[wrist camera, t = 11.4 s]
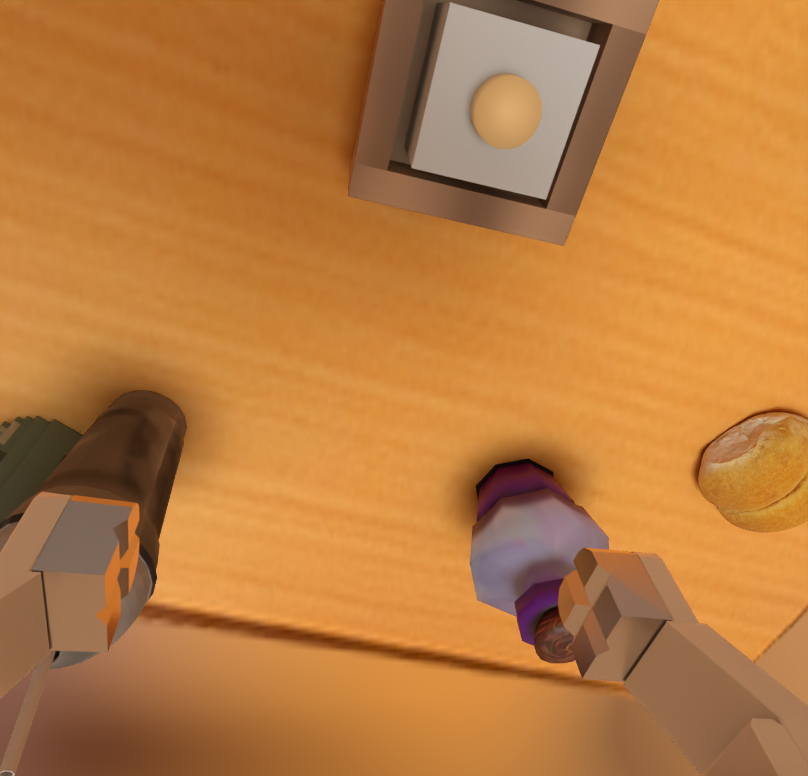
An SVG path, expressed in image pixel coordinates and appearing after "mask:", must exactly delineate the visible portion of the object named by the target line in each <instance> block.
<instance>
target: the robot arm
mask: <svg viewBox="0 0 808 776" xmlns="http://www.w3.org/2000/svg"><path fill="white" fill-rule="evenodd" d="M138 522H139V505H138V504H137V503H134V502H126V501H118V500H110V499H102V498H94V497H86V496H78V495H74V496H72V495H64V494H56V493H48V492H41V493H40V494H38V495H37V496H36V497H35V498H33V500H32V502H31V503H30V505H29V507H28V508H27V510H26V511H25V513H24V515H23V516H22V518H21V520H20V521H19V523H18V524H17V526H16V528H15V529H14V531H13V532H12V534H11V536H10V537H9V539H8V541H7V542H6V544H5V545H4V547H3V549H2V550H1V552H0V699H1V698H2V697H3V696H4V695H5V694H6V693H7V692H8V691H9V690H11V689H12V688H13V687H14V686H15V685H16V684H17V683H18V682H19V681H21V680H22V679H23V678H24V677H25V676H26V675H27V674H28V673H29V672H30V671H32V670H33V669H34V668H35V667H36V666H37V665H38V664H39V663H40V662H42V661H43V660H44V659H45V658H46V657H47V656H48V655H49V654H50V651H83V652H108V650H109V647H110V645H111V642H112V639H113V636H114V634H115V631H116V628H117V625H118V623H119V620H120V617H121V599H123V598H124V597H125V596H127V595H128V594H129V592H130V589H131V586H132V583H133V580H134V576H135V571H136V567H137V563H138V555H139V537H138V536H137V535H136V534H135V530H136V527H137V525H138ZM573 562H574V564H575V567H576V570H575V571H573V572H571V573H570V574H568V575H567V576H565V578H564V580H563V582H562V584H561V586H560V588H559V596H558V608H559V614H560V617H561V620H562V623H563V626H564V627H565V628H566V629H567V630H568V631H569V632H570V633H571V634H572V635H573V636H574V639H573V642H572V644H571V649H572V652H573V654H574V657H575V660H576V663H577V665H578V668H579V671H580V674H581V676H582V679H592V680H603V681H615V682H625V683H624V684H623V685H624V686H625V687H626V688H627V689H628V691H629V692H630V693H631V694H632V695H633V696H634V698H635V699H636V700H637V701H638V702H639V703H640V705H641V706H642V707H643V708H644V709H645V710H646V712H647V713H648V714H649V715H650V716H651V717H652V718H653V720H655V722H656V723H657V724H658V725H659V727H660V728H661V729H662V730H663V731H664V732H665V734H666V735H667V736H668V737H669V738H670V739H671V741H672V742H673V743H674V744H675V745H676V746H677V748H678V749H679V750H680V751H681V752H682V753H683V755H684V756H685V757H686V758H687V759H688V760H689V762H690V763H691V764H692V765H693V766H694V767H695V769H696V770H697V771H698V772H699V773H700V774H701V775H700V776H808V706H807V705H806V704H805V703H804V702H802V701H801V700H800V699H799V698H797V697H796V696H795V695H794V694H792V693H791V692H790V691H789V690H787V689H786V688H785V687H784V686H783V685H781V684H780V683H779V682H778V681H776V680H775V679H774V678H773V677H771V676H770V675H769V674H768V673H766V672H765V671H764V670H763V669H761V668H760V667H759V666H758V665H756V664H755V663H754V662H753V661H751V660H750V659H749V658H748V657H747V656H745V655H744V654H743V653H742V652H740V651H739V650H738V649H737V648H735V647H734V646H733V645H732V644H730V643H729V642H728V641H727V640H725V639H724V638H723V637H722V636H720V635H719V634H718V633H717V632H715V631H714V630H713V629H712V628H711V627H709V626H708V625H707V624H701V623H699V622H698V621H697V619H696V617H695V615H694V614H693V612H692V610H691V608H690V607H689V605H688V603H687V601H686V600H685V598H684V596H683V595H682V593H681V591H680V589H679V588H678V586H677V584H676V582H675V581H674V579H673V577H672V576H671V574H670V572H669V570H668V569H667V567H666V565H665V563H664V562H663V560H662V559H661V558H660V557H659V556H658V555H656V554H652V553H641V552H628V551H618V550H607V549H596V548H585V547H584V548H583V549H581V550H580V551H579V552H578V553H577V555H576V557H575V559H574V560H573Z"/></svg>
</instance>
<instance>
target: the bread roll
mask: <svg viewBox="0 0 808 776" xmlns="http://www.w3.org/2000/svg"><path fill="white" fill-rule="evenodd" d="M698 483H699V487H700V490H701V493H702V495H703V496H704V498H705V499H706V500H708V501H709V502H710V503H712V504H714V505H716V506H717V507H718V509H719V511H720V513H721V514H722V516H723V517H724V518H725V519H726V520H727V521H729V522H730V523H731V524H733V525H735V526H737V527H739V528H742V529H746V530H749V531H755V532H767V533H769V532H777V531H783V530H787V529H790V528H793V527H796V526H798V525H800V524H803V523H804V522H806V521H808V419H805V418H803V417H801V416H798V415H795V414H790V413H785V412H771V413H766V414H761V415H756V416H754V417H752V418H750V419H747V420H746V421H744V422H742V423H741V424H739V425H737V426H735V427H733V428H731V429H729V430H728V431H727V432H725V433H724V434H722V435H721V436H720V437H718V438H717V439H716V440H715V441H714V442H712V443H711V444H710V445H709V446H708V447H707V449H706V451H705V452H704V454H703V457H702V462H701V467H700V471H699V478H698Z"/></svg>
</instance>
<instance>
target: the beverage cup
mask: <svg viewBox="0 0 808 776" xmlns="http://www.w3.org/2000/svg"><path fill="white" fill-rule="evenodd" d="M186 427H187V426H186V421H185V417H184V415H183V413H182V411H181V410H180V408H179V407H178V406H177V405H176V404H175V403H174V402H172V401H171V400H170V399H168V398H166V397H164V396H163V395H161V394H158V393H154V392H150V391H133V392H129V393H125V394H123V395H122V396H120V397H119V398H117V399H116V400H115V401H114V403H113V404H112V405H111V406H110V407H109V408H108V409H107V410H106V411H104V412H103V413H102V414H101V415H100V417H99V418H98V419H97V420H96V421H95V422H94V424H93V425H92V426H91V427H90V428H89V430H88V431H87V432H86V433H85V434H84V436H83V437H82V438H81V439H80V440H79V441H78V443H77V444H76V445H75V446H74V447H73V449H72V450H71V451H70V452H69V453H68V454H67V456H66V457H65V458H64V459H63V460H62V462H61V463H60V464H59V465H58V466H57V467H56V469H55V470H54V471H53V472H52V473H51V475H50V476H49V477H48V478H47V479H46V481H45V482H44V483H43V484H42V485H41V486H40V488H39V489H38V490H37V491H36V492H35V494H34V495H33V496H32V497H30V498H29V499H27V500H26V501H24V502H23V503H22V504H21V505H20V506H19V507H18V508H17V509H15V510H14V511H13V512H12V513H11V514H10V515H9V516H8V517H7V518H6V519H5V520H4V521H3V522H1V523H0V552H1V550H2V549H3V547H4V545H5V544H6V542H7V541H8V539H9V537H10V536H11V534H12V532H13V531H14V529H15V528H16V526H17V524H18V523H19V521H20V520H21V518H22V516H23V515H24V513H25V511H26V510H27V508H28V507H29V505H30V503H31V502H32V500H33V498H35V497H36V496H37V495H38V494H40V493H41V492H48V493H56V494H64V495H72V496H74V495H78V496H86V497H94V498H102V499H110V500H118V501H126V502H134V503H137V504H138V505H139V522H138V525H137V527H136V530H135V534H136V535H137V536H138V537H139V555H138V563H137V567H136V571H135V576H134V580H133V583H132V586H131V589H130V592H129V594H128V595H127V596H125V597H124V598H123V599H121V617H120V620H119V623H118V625H117V628H116V631H115V634H114V636H113V639H112V642H111V645H113V644H114V643H115V642H116V641H117V640H118V639H119V638H120V637H121V636H122V635H123V634H124V633H125V632H126V631H127V629H128V628H129V627H130V626H131V625H132V624H133V622H134V621H135V620H136V618H137V617H138V616H139V614H140V613H141V611H142V610H143V607H144V605H145V603H146V602H147V601H148V600H149V599H150V597H151V596H152V594H153V592H154V588H155V584H156V580H157V575H156V567H157V563H158V554H159V537H160V533H161V529H162V525H163V521H164V517H165V514H166V510H167V506H168V502H169V498H170V494H171V491H172V487H173V483H174V479H175V475H176V471H177V468H178V464H179V460H180V456H181V452H182V448H183V444H184V442H183V439H184V436H185V432H186ZM111 645H110V646H111ZM98 653H100V652H83V651H50V654H49V655H48V656H47V657H46V658H45V659H44V660H43V661H42V662H40V663H39V664H38V665H37V666H36V667H35V670H34V673H33V676H32V678H31V681H30V684H29V687H28V690H27V693H26V696H25V699H24V701H23V704H22V707H21V710H20V713H19V716H18V718H17V721H16V725H15V727H14V730H13V733H12V736H11V739H10V742H9V744H8V747H7V750H6V753H5V756H4V759H3V762H2V764H1V767H0V776H14V775H15V772H16V769H17V766H18V763H19V760H20V757H21V754H22V751H23V748H24V745H25V742H26V739H27V736H28V733H29V730H30V727H31V724H32V721H33V718H34V715H35V712H36V709H37V706H38V703H39V700H40V697H41V694H42V691H43V688H44V685H45V682H46V679H47V676H48V673H49V670H50V669H52V668H53V669H54V668H62V667H66V666H70V665H74V664H77V663H81V662H83V661H85V660H87V659H89V658H91V657H93V656H95V655H96V654H98Z"/></svg>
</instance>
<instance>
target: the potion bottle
mask: <svg viewBox="0 0 808 776" xmlns="http://www.w3.org/2000/svg"><path fill="white" fill-rule="evenodd" d="M476 490H477V496H478V513H477V523H476V524H475V525H474V526H473V530H472V543H471V556H470V566H471V571H472V576H473V581H474V586H475V591H476V596H477V600H478V601H481V602H483V603H485V604H488V605H490V606H493V607H495V608H497V609H500V610H502V611H504V612H507V613H509V614H511V615H514V616H516V617H517V623H518V627H519V630H520V634H521V638H522V641H524V642H526V643H529V644H531V645H533V646H535V650H536V653H537V655H538V656H539V657H540V659H541V660H544V661H547V662H549V663H567V662H572V661H574V660H575V657H574V654H573V652H572V649H571V644H572V642H573V639H574V636H573V635H572V634H571V633H570V632H569V631H568V630H567V629H566V628H565V627H564V626H563V623H562V620H561V617H560V614H559V608H558V596H559V588H560V586H561V584H562V582H563V580H564V578H565V576H567V575H568V574H570V573H571V572H573V571H575V570H576V567H575V564H574V562H573V560H574V559H575V557H576V555H577V553H578V552H579V551H580V550H581V549H583V548H584V547H585V548H596V549H607V550H609V538H608V536H607V535H606V534H605V533H604V532H603V530H602V529H601V528H600V527H599V526H598V525H597V523H596V522H595V521H594V520H593V519H592V518H591V516H590V515H589V514H588V513H587V512H586V510H585V509H584V508H583V507H581V506H578V505H576V504H575V503H574V501H573V500H572V499H571V498H570V497H569V496H568V494H567V493H566V492H565V491H564V490H563V488H562V487H561V486H560V485H559V484H558V482H557V481H556V480H555V479H554V478H553V472H552V471H550V470H548V469H546V468H545V467H543V466H541V465H539V464H537V463H535V462H533V461H532V460H530V459H524V460H519V461H514V462H508V463H503V464H498V465H495V466H494V467H493V468H492V469H491V471H490V472H489V473H488V474H487V475H486V476H485V477H484V478H483V479H482V480H481V481H480V482H479V484H478V485H477V486H476Z"/></svg>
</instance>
